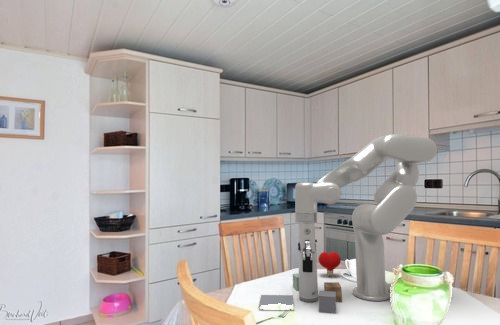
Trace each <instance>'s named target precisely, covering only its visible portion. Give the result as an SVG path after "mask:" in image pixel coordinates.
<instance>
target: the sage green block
mask: <svg viewBox="0 0 500 325" xmlns="http://www.w3.org/2000/svg"><path fill="white" fill-rule="evenodd" d="M292 287H293V288H294V290H295V291H297V292H299V272H298V273H292Z"/></svg>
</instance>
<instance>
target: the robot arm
mask: <svg viewBox="0 0 500 325" xmlns="http://www.w3.org/2000/svg"><path fill="white" fill-rule="evenodd" d="M437 154H438V146H437V145H436V143H435V142H434V141H433V140H432V139H431V138H429V137H425V136H415V135H405V134H397V133H395V134H394V133H392V134H391V133H390V134H386V135H382V136H379V137H376V138H373V139H372V140H370V142H368V143H367V144H366V145H365V146H363V147H362V148H361V149H360V150H359V151H357V152H356V153H355V154H354V155H353V156H351V157H350V158H349V159H347V160H345V161H344V162H343V163H341V164H339V165H338V166H337V167H335V168H334V169H332V170H331V171H330V172H328V173H326V174H325V175H324V176H323V177H322V178H320V179H319V180H318V181H316V183H314V182H297V183H296V184H295V186H294V190H295V192H294V200H295V203H294V204H295V205H294V207H295V208H294V210H295V212H294V213H295V216H294V217H295V218H294V220H295V223H297V224H298V240H299V241H298V243H300V249H301V252H302V253H303V272H313V260H312V252H313V253H315V252H316V253H317V247H316V248H315V243H316V242H315V240H316V228H315V227H316V226H315V224H318V204H319V203H322V204H328V205H331V204H336V203H337V202H339V201H340V200H341V198H342V195H343V192H342V188H344V187H345V186H347V185H349V184H352V183H355V182H358V181H361V180H362V179H365V178H366V177H368V176H369V175H370V174H371V173H373V171H374V170H376V169H377V168H379V166H381V165H382V164H383V163H385V162H386V161H388V160H392V159H395V164H396V165H395V169H394V171H393V172H392V173H391V174H390V176H389V177H388V178H387V179H386V180H385V181H383V182H382V184H380V186H379V187H378V188H377V189H376V191H375V192H374V197H373V199H374V203H375V204H373V203H371V204H370V203H362V204H359V205H358V206H356V207H355V208H354V210H353V211H352V215H351V223H352V224H351V225H352V227H353V233H354V242H355V243H354V245H355V267H356V268H355V270H356V273H355V274H356V286H355V287H353V288H352V294H353V296H354V297H356V298H359V299H362V300H367V301H372V302H373V301H374V302H376V301H377V302H378V301H379V302H380V301H387V300H389V299H391V297H390V293H391V292H390V287H391V284H392V282H391V283H388V282H387V281H386V267H385V266H386V265H385V262H386V261H385V243H384V237H383V235H388V234H391V233H392V232H393V231H394V230H395V229H397V228H398V226H399V225H400V224H401V223H402V222H403V221H404V220H405V219H406V217H407V216H409V214H411V212H412V211H413V210H414V209H415V207H416V205H417V201H418V194H417V192H416V190H415V186H416V184H417V183H418V181H419V178H420V173H419V172H420V171H419V165H418V164H419V163H421V164H422V163H427V162H431V161H432V160H433V159H434V158H435V157H436V156H437ZM305 243H306V245H305ZM311 250H312V251H311Z"/></svg>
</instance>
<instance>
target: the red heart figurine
mask: <svg viewBox="0 0 500 325" xmlns="http://www.w3.org/2000/svg"><path fill="white" fill-rule="evenodd" d="M341 262H342V259H341V256H340V255H339V253H337V252H336V251H331V252H329V253H328V252H326V251H322V252H321V253H320V254H319V256H318V263H319V264H320V265H321V267H323V268H324V269H326V275H327V276H328V277H332V276H333V275H334V270H335V269H336V268H339V266H340V264H341ZM320 265H319V266H320Z"/></svg>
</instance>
